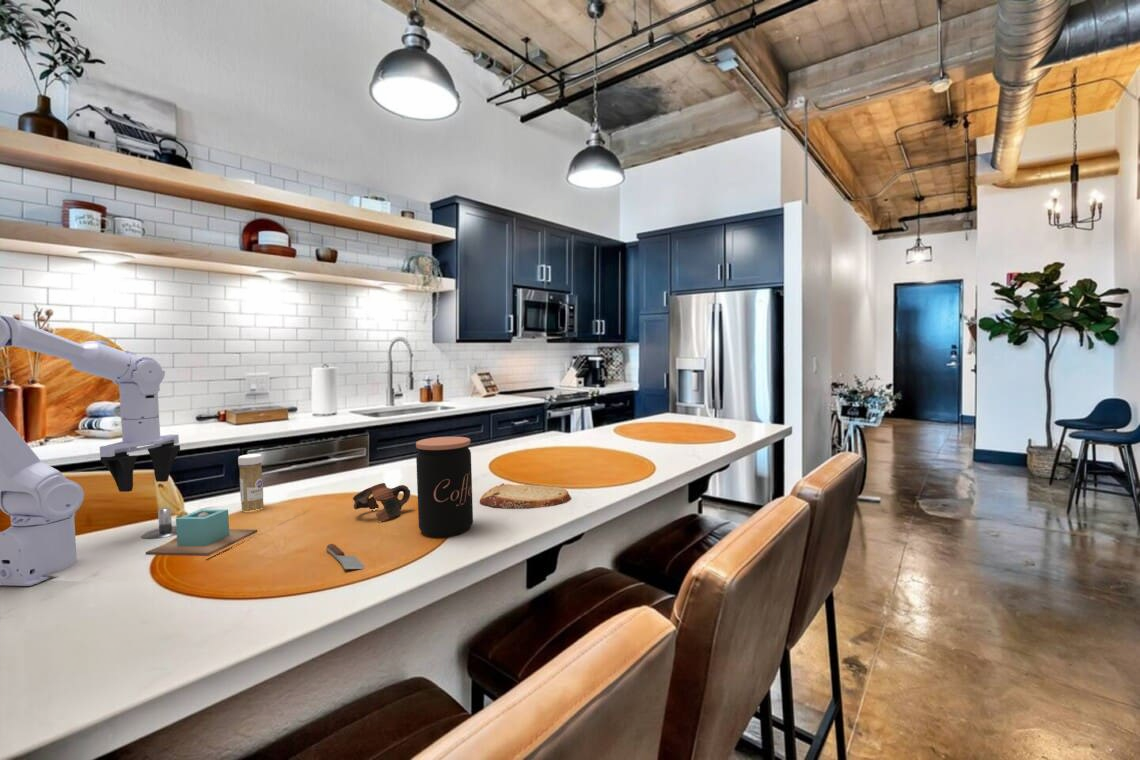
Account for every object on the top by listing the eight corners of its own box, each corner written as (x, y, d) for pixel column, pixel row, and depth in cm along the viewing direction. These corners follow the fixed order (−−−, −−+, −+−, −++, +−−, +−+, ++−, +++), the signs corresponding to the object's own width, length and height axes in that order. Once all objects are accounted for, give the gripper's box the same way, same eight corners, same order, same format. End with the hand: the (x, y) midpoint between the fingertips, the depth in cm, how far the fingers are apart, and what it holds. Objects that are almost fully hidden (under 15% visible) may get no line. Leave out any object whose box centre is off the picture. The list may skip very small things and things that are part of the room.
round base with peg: (166, 543, 96) (164, 515, 96) (130, 542, 97) (128, 514, 97) (199, 529, 104) (197, 503, 103) (165, 529, 104) (164, 503, 104)
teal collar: (205, 546, 91) (204, 518, 91) (177, 545, 91) (175, 518, 91) (229, 535, 96) (228, 509, 96) (202, 534, 97) (201, 509, 97)
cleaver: (373, 564, 83) (342, 565, 80) (372, 573, 83) (340, 574, 80) (355, 542, 94) (326, 542, 91) (353, 550, 94) (324, 551, 91)
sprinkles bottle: (258, 515, 112) (255, 456, 112) (236, 517, 112) (233, 457, 111) (268, 509, 117) (265, 452, 116) (247, 510, 116) (244, 453, 116)
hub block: (208, 559, 87) (206, 523, 87) (145, 558, 89) (143, 522, 88) (257, 535, 99) (256, 503, 99) (202, 534, 100) (200, 502, 100)
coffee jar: (433, 543, 93) (430, 447, 92) (409, 529, 101) (406, 441, 100) (483, 529, 100) (480, 440, 99) (457, 517, 108) (454, 434, 107)
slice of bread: (577, 500, 120) (577, 485, 120) (520, 518, 107) (520, 501, 107) (528, 488, 133) (528, 474, 133) (472, 503, 120) (471, 487, 120)
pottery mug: (367, 529, 103) (351, 493, 105) (361, 537, 111) (346, 503, 112) (421, 503, 110) (405, 470, 112) (412, 512, 118) (397, 481, 119)
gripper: (122, 422, 91) (126, 496, 91) (190, 413, 105) (194, 477, 106) (87, 423, 92) (92, 496, 92) (160, 414, 106) (163, 477, 107)
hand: (144, 486), depth 99 cm, fingers open, 7 cm apart
